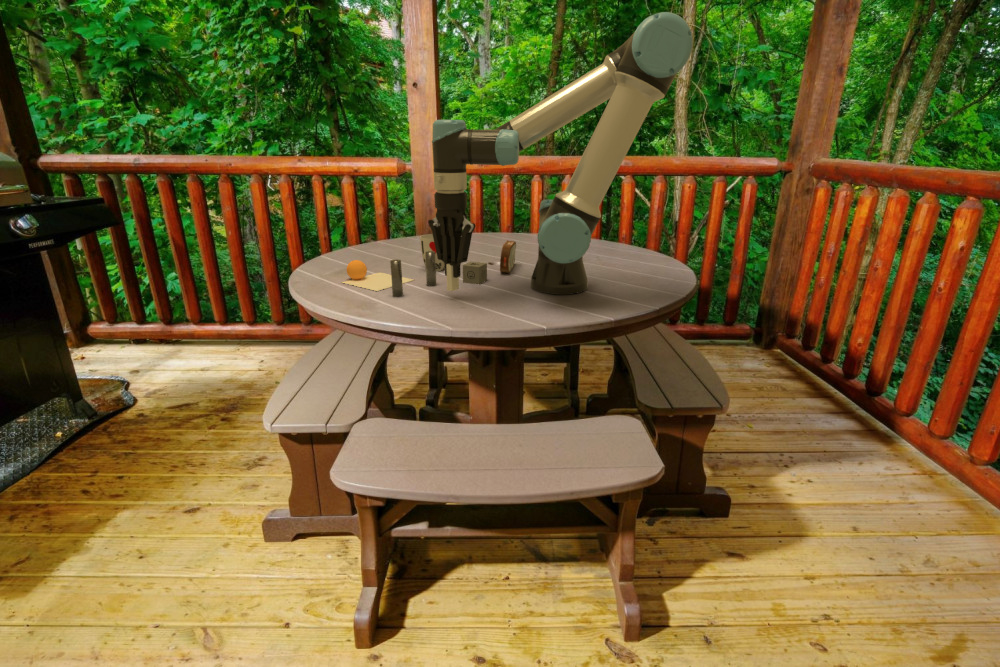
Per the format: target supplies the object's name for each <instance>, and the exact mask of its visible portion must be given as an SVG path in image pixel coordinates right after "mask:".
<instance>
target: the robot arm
mask: <svg viewBox="0 0 1000 667" xmlns="http://www.w3.org/2000/svg"><path fill="white" fill-rule="evenodd" d="M693 42H694V38H693V33H692V30H691V28H690V26H689V24H688V22H687V21H686V20H685V19H684V18H683V17H681V16H680V15H678V14H676V13H673V12H670V11H663V12H658V13H655V14H652V15H649V16H648V17H646V18H645V19H643V21H641V22H640V24H639V25H638V26H637V27H636V30H635V31H634V32H633V33H632V34H631V35H630V37H629V38H628V39H626V40H625V42H624V43H622V44H621V45H620V46H619V47H617V48H616V49H615V50H613V51H611V52H610V53H609V54H606V56H605V58H604V60H603V62H602V64H600V65H598V66H596V67H595V68H593V69H591V70H589V71H588V72H587V73H584V74H583V75H581V76H580V77H578V78H576V79H575V80H573V81H572V82H570V83H568V84H566V85H565V86H564V87H562V88H560V89H558V90H557V91H555V92H554V93H552V94H551V95H549V96H547V97H546V98H544V99H542V100H541V101H539V102H538V103H536V104H535V105H533V106H531V107H529V108H528V109H526V110H525V111H523V112H520V113H519V114H518V115H517V116H515V117H513V118H511V119H509V121H507V122H505V123H503V124H501V125H500V126H498V127H496V128H495V129H470V128H467V124H466V121H465V120H463V119H436V120H435V121H433V124H432V141H431V144H432V161H433V164H432V165H433V187H434V190H435V191H436V192H435V193H434V194H433V195H434V198H433V199H434V207H435V209H436V212H435V217H433V218H432V219H428V226H429V227H430V229H431V234H433V239H434V244H435V248H436V253H437V258H438V259H439V260H442V261H443V262H444V264H445V265H444V275H445V276H446V291H450V292H454V291H456V290H459V289H460V287H459V286H460V284H459V281H460V280H459V278H460V277H461V275H462V273H461V264H463V263H467V261H468V258H469V253H470V246H471V242H472V241H471V240H472V236H473V232H474V230H475V229H476V227H477V226H476V224H475V223H474V222H470V221H469V220H468V216H467V213H466V209H467V207H468V196H467V195H468V194H467V192H465V191H466V190H467V189H468V188H467V187H468V183H467V182H468V181H467V177H468V176H467V165H471V166H473V165H476V166H477V165H479V166H480V165H481V166H484V165H485V166H502V167H504V166H514V165H516V164H517V165H518V162H519V158H520V153H521V152H522V151H523V150H525V149H527V148H528V147H530V146H531V145H533V144H536V143H537V142H539V141H541V140H542V139H543V138H546V137H547V136H548V135H551V134H552V133H554V132H555V131H557V130H559V129H560V128H563V127H564V126H566V125H567V124H569V123H571V122H573V121H574V120H576V119H577V118H580V117H581V116H583V115H584V114H586V113H588V112H589V111H592V110H593V109H595V108H596V107H599V105H601V104H603V103H605V102H606V101H608V103H607V104H606V106H605V108H604V111H603V112H602V114H601V117H600V119H599V121H598V123H597V125H596V127H595V129H594V131H593V133H592V135H591V137H590V139H589V141H588V143H587V146H586V147H585V149H584V151H583V153H582V156H581V157H580V159H579V161H578V163H577V165H576V167H575V170H574V171H573V173H572V176H571V178H570V180H569V182H568V184H567V185H566V188H565V189H564V190H563V191H559V192H557V193H555V195H554V198H553V199H543V200H541V202H540V203H539V204H540V205H539V209H538V213H539V219H538V220H539V221H538V222H539V224H538V225H539V226H538V231H537V243H538V253H537V254H538V255H537V256H538V258H537V260H536V264H535V266H534V270H533V271H532V274H531V278H530V288H531V289H532V290H534V291H536V292H539V293H543V294H548V293H550V294H549V295H551V294H552V295H572V294H571V293H576V294H578V293H577V292H581V291H583V292H585V291H587V290H586V289H588V284H589V281H588V276H587V274H586V269H585V264H584V261H583V256H584V255H585V254H586V253H587V251H588V250H589V248H590V246H591V241H592V235H593V233H594V231H595V229H596V228H597V227H598V224H599V222H600V221H601V217H602V213H601V210H600V206H601V205H602V202H603V199H604V198H605V196H606V194H607V192H608V190H609V188H610V187H611V184H612V182H613V181H614V179H615V177H616V175H617V173H618V171H619V169H620V167H621V165H622V164H623V161H624V159H625V158H626V156H627V154H628V152H629V150H630V148H631V146H632V144H633V142H634V140H635V139H636V136H637V135H638V133H639V131H640V129H641V127H642V125H643V123H644V121H645V120H646V119H647V116H648V113H649V112H650V110H651V108H652V106H653V104H654V103H655V102H658V101H659V100H662V99H664V98H665V96H666V94H667V93H668V91H669V89H670V87H671V85H672V83H673V81H674V80H675V78H676V77H677V74H678V73H680V71H681V70H683V68H684V67H685V66H686V65H687V63H688V61H689V59H690V57H691V55H692V54H691V53H692V51H693V44H694V43H693ZM584 290H585V291H584ZM581 293H582V292H581Z"/></svg>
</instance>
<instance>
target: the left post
mask: <svg viewBox="0 0 1000 667" xmlns="http://www.w3.org/2000/svg"><path fill="white" fill-rule="evenodd" d="M389 263H390V264H389V265H390V272H391V274H390V275H391V279H392V287H391V288H392V289H391V292H392V297H393V296H394V298H401V297H403V296H404V291H403V290H404V288H403V284H402V277H403V274H402V271H403V270H402V260H401V259H391V260H389Z"/></svg>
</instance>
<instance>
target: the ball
mask: <svg viewBox="0 0 1000 667" xmlns="http://www.w3.org/2000/svg"><path fill="white" fill-rule="evenodd" d="M367 267H368V266H366V263H365V262H363V261H362V260H358V259H354V260H352V261H349V263H348V264H347V266H346V274H347V275H348V277H349V278H351V280H352V279H354V280H360V279H362V278H364V277H365V276H367V272H368V268H367Z"/></svg>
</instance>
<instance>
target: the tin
mask: <svg viewBox="0 0 1000 667" xmlns="http://www.w3.org/2000/svg"><path fill="white" fill-rule="evenodd" d="M505 241H506V242H504V244H503V245H502V248H501V253H500V261H499V272H500V273H505V274H509V273H511V271H512V270H513V269H514V266H515V260H516V249H517V242H516V241H513V240H505ZM511 269H512V270H511Z"/></svg>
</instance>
